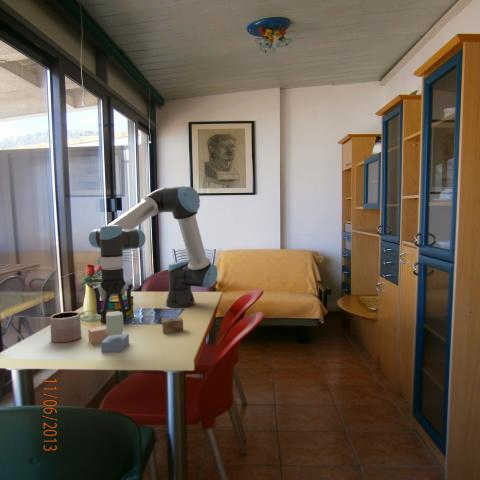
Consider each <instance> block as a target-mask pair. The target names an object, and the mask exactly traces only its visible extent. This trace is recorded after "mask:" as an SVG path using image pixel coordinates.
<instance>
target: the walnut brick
mask: <svg viewBox="0 0 480 480" xmlns="http://www.w3.org/2000/svg"><path fill="white" fill-rule="evenodd" d="M161 321H162V332H163V335H165V334H166V335H167V334H174V333H175V334H177V333H184V319H183V317H171V318H162V319H161Z"/></svg>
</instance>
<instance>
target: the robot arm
mask: <svg viewBox="0 0 480 480" xmlns="http://www.w3.org/2000/svg"><path fill="white" fill-rule="evenodd" d="M200 199H201V198H200V196H199V193H198V192H197V190H196V189H195V188H193V187H191V186H172V187H169V186H168V187H166V186H165V187H161V188H158V189H156V190H154V191H152V192H151V193H148V194H147V195H145V196H143V198H141V199H140V202H139V203H138V204H136V205H135V206H133V207H132V208H130V209H129V210H128V211H126V212H124V213H123V214H121V215H120V216H119V217H117V218H116V219H114V220H113V221H112V222H110V223H109V224H107V225H106V224H105V225H101V226H100V228H97V229H96V228H94V229H92V230H91V231H90V233H89V235H88V241H89V244H90V246H91V247H93V248H98V249H100V266H101V267H100V268H101V281H100V284H99V285H97V286H93V291H94V294H95V308H96V315H98V316H99V315H100V316H101V315H102V324H103V325H105V326H106V333H107V334H109V324H108V314H106V312H107V307H108V302H109V297H110V294H113V293H114V294H117V296H118V299H119V303H120V306H121V310H122V312H120V313H121V315H122V333H123V332H124V331H125V330H124V329H125V328H124V323H126V322H127V321H126V312H128V311H130V310H131V296H132V292H131V291H132V288H133V284H132V283H131V282H129V283H128V282H126V281H125V279H124V278H125V277H124V276H125V275H124V268H123V267H124V257H123V256H124V254H123V253H124V251H125V250H136V249H138V248H139V249H140V248H142V247H143V246H144V245H145V243H146V235H145V232H143V230H141V229H138V228H137V227H138V226H139V225H141V224H142V223H143V222H145V221H146V220H147V219H148V218H149V219H150V218H151V217H154V216H157V214H160V213H172V216H173V219H175V220H176V221H177V222H178V227H179V229H180V232H181V236H182V240H183V242H184V247H185V250H186V254H187V257H188V260H181V261H175V262H171V263H169V264H168V270H167V272H168V294H167V297H166V300H165V305H166V307H168V308H173V309H178V308H179V309H182V308H188V307H189V308H190V307H192V306H195V303H196V301H195V297H194V294H193V292H192V287H197V288H198V287H200V288H211V287H213V286H214V285H215V283H216V282H217V277H218V267H217V266H216V265H215V264H212V263H211V259H210V257H209V258H208V257H207V254H206V252H205V247H204V243H203V240H202V236H201V232H200V229H199V225H198V220H197V218H196V217H197V214H198V210H199V209H200V206H201V205H200V203H201V200H200ZM124 285H125V290H126V293H125V296H126V299H127V307H126V308H125V306H124V302H123V298H122V294H121V290H122V288H123V287H124ZM101 288H103V290H104V291H105V292H106V293H105V299H104V304H103V309H102V311H101V309H100V301H101V297H100V291H101ZM125 321H126V322H125ZM123 322H124V323H123Z"/></svg>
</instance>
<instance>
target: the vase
mask: <svg viewBox="0 0 480 480" xmlns="http://www.w3.org/2000/svg"><path fill="white" fill-rule="evenodd" d="M105 293H106V292H105V291H104V290H103V288H101V291H100V292H99V294H100V300H103V299H105ZM121 294H122V296H126V288H125V285H124V287H123V288H122V290H121ZM113 295H117V294H114V293H113V294H110V296H113Z"/></svg>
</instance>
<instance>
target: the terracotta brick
mask: <svg viewBox="0 0 480 480" xmlns="http://www.w3.org/2000/svg"><path fill="white" fill-rule="evenodd" d="M87 333H88V342H89V343H90V345H95V344H101V342H102V341H103V340H104V339H105V338H106V337H108V336H109V334H107V333H106V325H103V326H96V327H92V328H88V331H87Z"/></svg>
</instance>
